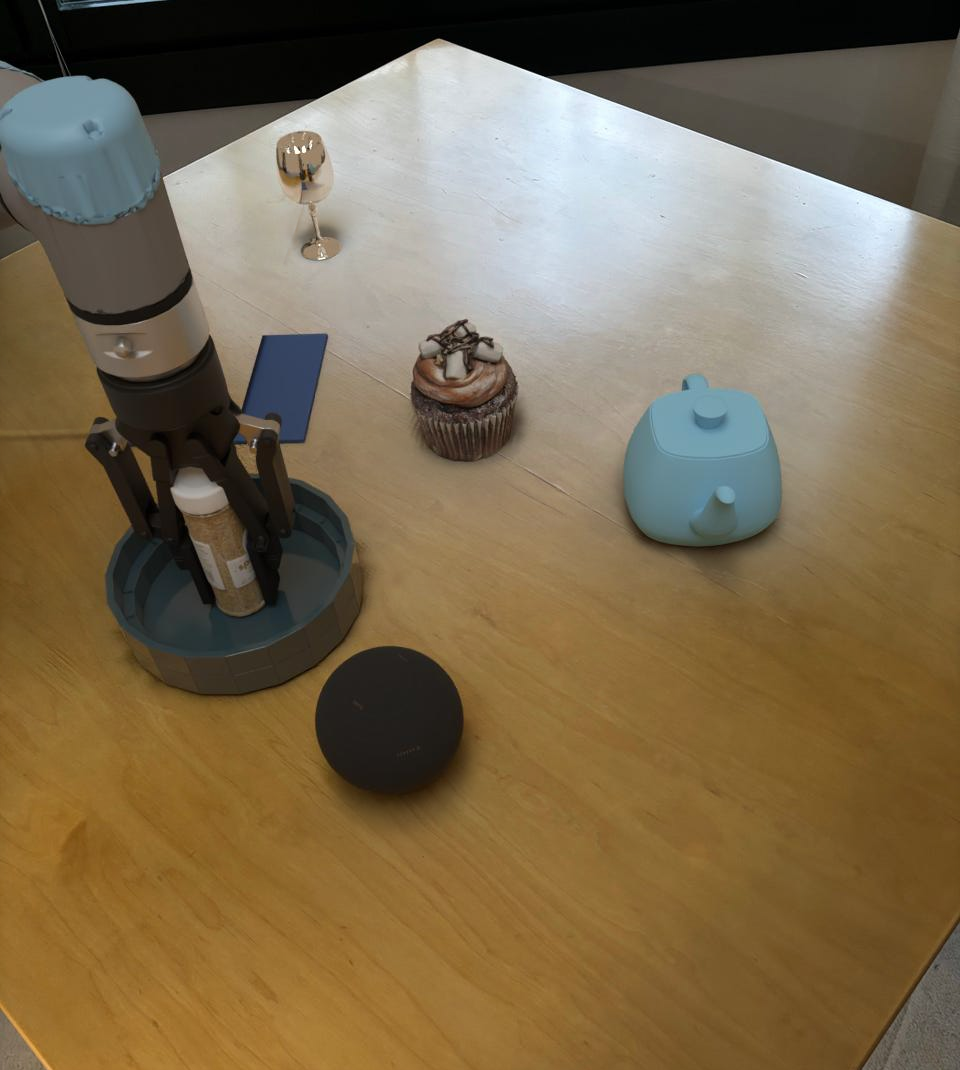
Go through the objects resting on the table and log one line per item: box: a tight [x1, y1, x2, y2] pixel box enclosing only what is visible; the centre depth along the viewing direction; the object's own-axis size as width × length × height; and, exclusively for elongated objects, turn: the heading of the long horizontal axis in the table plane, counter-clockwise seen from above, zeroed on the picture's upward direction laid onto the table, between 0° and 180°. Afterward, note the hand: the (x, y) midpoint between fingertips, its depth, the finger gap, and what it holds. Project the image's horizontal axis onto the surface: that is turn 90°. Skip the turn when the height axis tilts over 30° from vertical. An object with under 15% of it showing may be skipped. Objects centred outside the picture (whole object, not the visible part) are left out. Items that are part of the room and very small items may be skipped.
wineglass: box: [275, 130, 342, 261], centre depth 114 cm, size 6×6×12 cm
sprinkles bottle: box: [171, 467, 266, 617], centre depth 81 cm, size 5×5×13 cm
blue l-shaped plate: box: [127, 332, 329, 447], centre depth 104 cm, size 20×16×1 cm
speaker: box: [314, 645, 465, 795], centre depth 73 cm, size 10×10×10 cm
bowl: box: [104, 473, 365, 695], centre depth 85 cm, size 19×19×5 cm
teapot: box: [622, 373, 783, 547], centre depth 85 cm, size 13×11×18 cm
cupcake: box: [409, 318, 520, 462], centre depth 94 cm, size 10×10×10 cm
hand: (241, 590), depth 86 cm, fingers closed on sprinkles bottle, 4 cm apart
